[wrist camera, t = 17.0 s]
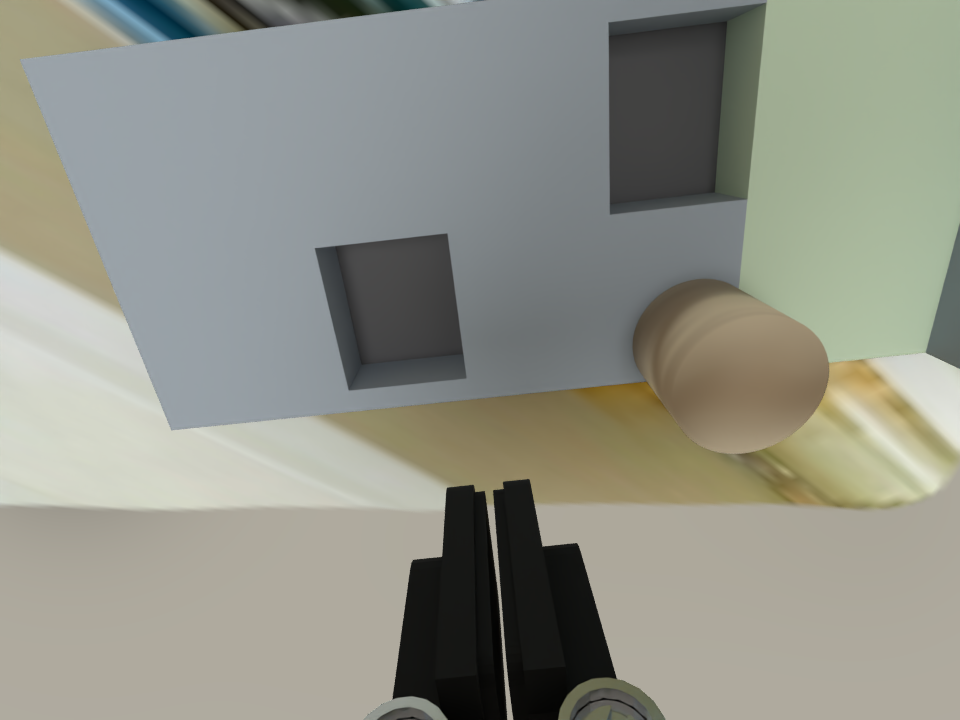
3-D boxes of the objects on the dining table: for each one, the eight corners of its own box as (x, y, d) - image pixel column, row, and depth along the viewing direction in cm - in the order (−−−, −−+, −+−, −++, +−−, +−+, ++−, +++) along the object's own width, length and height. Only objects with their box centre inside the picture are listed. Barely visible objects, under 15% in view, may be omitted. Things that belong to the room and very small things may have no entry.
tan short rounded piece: (641, 278, 19) (686, 315, 15) (769, 278, 20) (848, 315, 15) (625, 393, 21) (661, 453, 17) (742, 393, 22) (805, 453, 17)
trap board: (84, 71, 19) (-55, 46, 14) (979, -42, 18) (1176, -113, 13) (205, 397, 25) (136, 463, 20) (894, 325, 24) (1009, 376, 19)
